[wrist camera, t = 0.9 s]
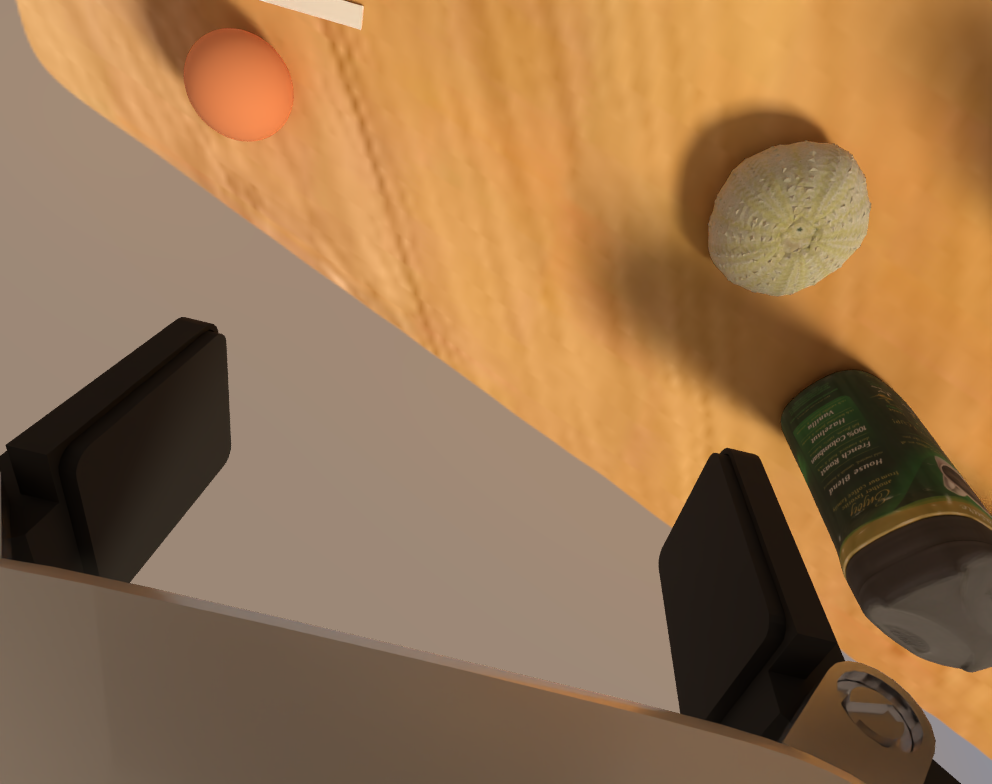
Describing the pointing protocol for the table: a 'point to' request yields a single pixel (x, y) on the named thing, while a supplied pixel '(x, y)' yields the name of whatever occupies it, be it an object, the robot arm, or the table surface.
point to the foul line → (327, 10)
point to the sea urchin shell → (789, 217)
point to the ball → (238, 84)
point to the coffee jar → (897, 517)
